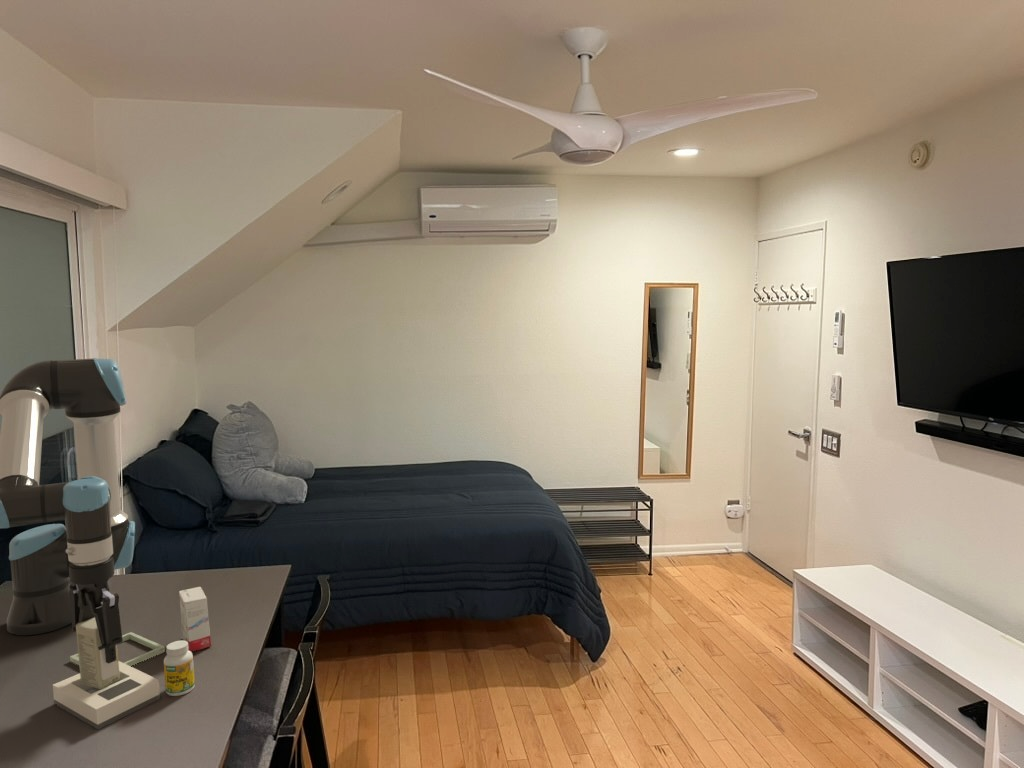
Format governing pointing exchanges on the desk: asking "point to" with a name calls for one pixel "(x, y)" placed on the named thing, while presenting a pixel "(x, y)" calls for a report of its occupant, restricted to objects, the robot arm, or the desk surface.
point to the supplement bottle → (178, 669)
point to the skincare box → (91, 655)
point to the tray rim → (155, 646)
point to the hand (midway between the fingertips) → (99, 671)
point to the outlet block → (107, 696)
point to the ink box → (195, 618)
